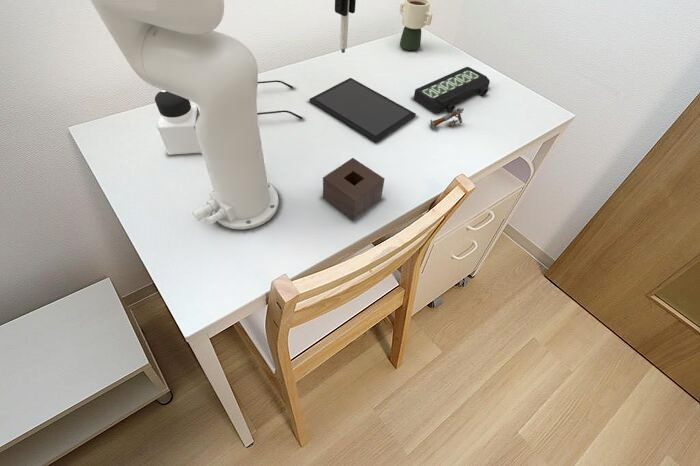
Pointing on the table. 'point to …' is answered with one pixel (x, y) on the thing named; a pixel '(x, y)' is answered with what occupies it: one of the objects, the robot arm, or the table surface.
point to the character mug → (414, 22)
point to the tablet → (363, 109)
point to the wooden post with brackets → (447, 117)
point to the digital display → (451, 90)
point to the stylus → (344, 31)
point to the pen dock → (352, 188)
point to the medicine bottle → (177, 123)
